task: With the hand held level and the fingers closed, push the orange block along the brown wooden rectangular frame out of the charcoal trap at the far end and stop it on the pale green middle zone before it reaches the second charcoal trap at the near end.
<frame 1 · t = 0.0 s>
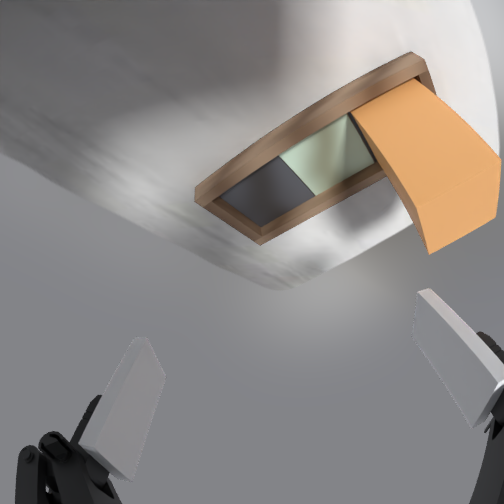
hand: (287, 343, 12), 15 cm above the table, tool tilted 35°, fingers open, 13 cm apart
block: (426, 158, 15), point 6 cm above the table, slide at -6.5 cm
brown wooden rectangular frame: (325, 151, 22), on the table
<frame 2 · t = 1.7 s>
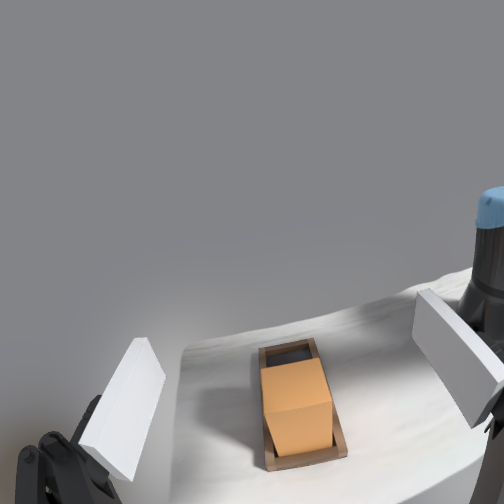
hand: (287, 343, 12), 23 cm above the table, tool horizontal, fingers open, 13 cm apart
block: (298, 412, 26), point 6 cm above the table, slide at -6.5 cm
brown wooden rectangular frame: (296, 400, 34), on the table
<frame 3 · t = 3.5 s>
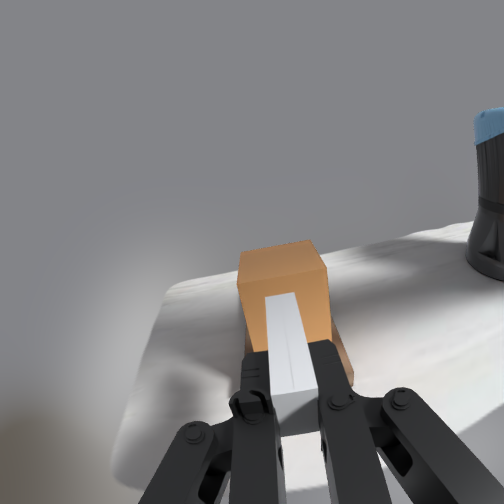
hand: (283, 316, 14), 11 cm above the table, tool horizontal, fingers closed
block: (287, 314, 23), point 6 cm above the table, slide at -6.5 cm
brown wooden rectangular frame: (288, 325, 31), on the table
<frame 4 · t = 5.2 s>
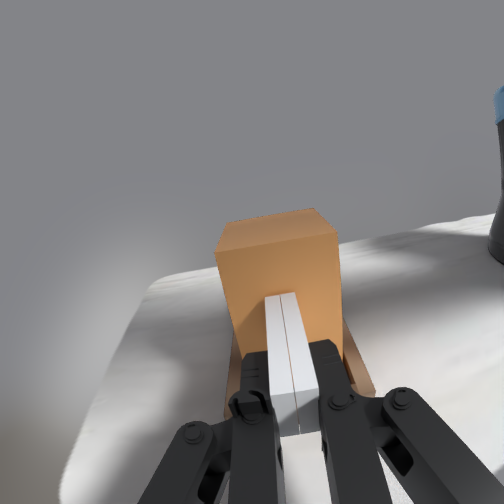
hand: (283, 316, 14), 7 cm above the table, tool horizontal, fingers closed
block: (284, 301, 18), point 6 cm above the table, slide at -5.2 cm, touching gripper
brown wooden rectangular frame: (288, 327, 25), on the table
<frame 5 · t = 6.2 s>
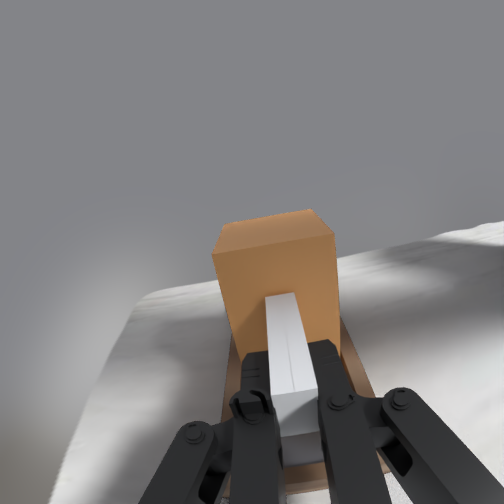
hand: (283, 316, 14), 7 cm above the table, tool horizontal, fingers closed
block: (282, 302, 18), point 6 cm above the table, slide at -0.3 cm, touching gripper
brown wooden rectangular frame: (292, 364, 20), on the table
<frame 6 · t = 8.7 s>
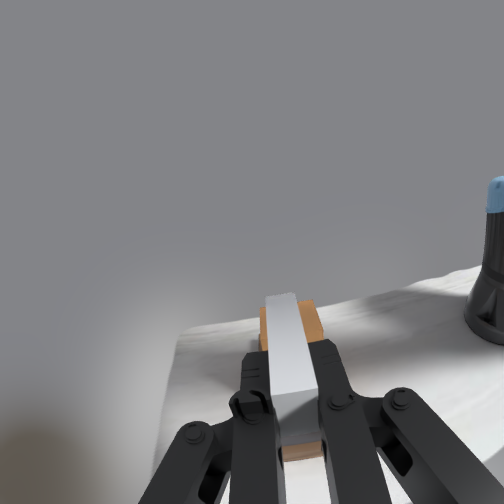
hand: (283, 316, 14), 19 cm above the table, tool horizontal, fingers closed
block: (293, 354, 30), point 6 cm above the table, slide at 0.0 cm
brown wooden rectangular frame: (297, 388, 32), on the table
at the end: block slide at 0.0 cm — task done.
